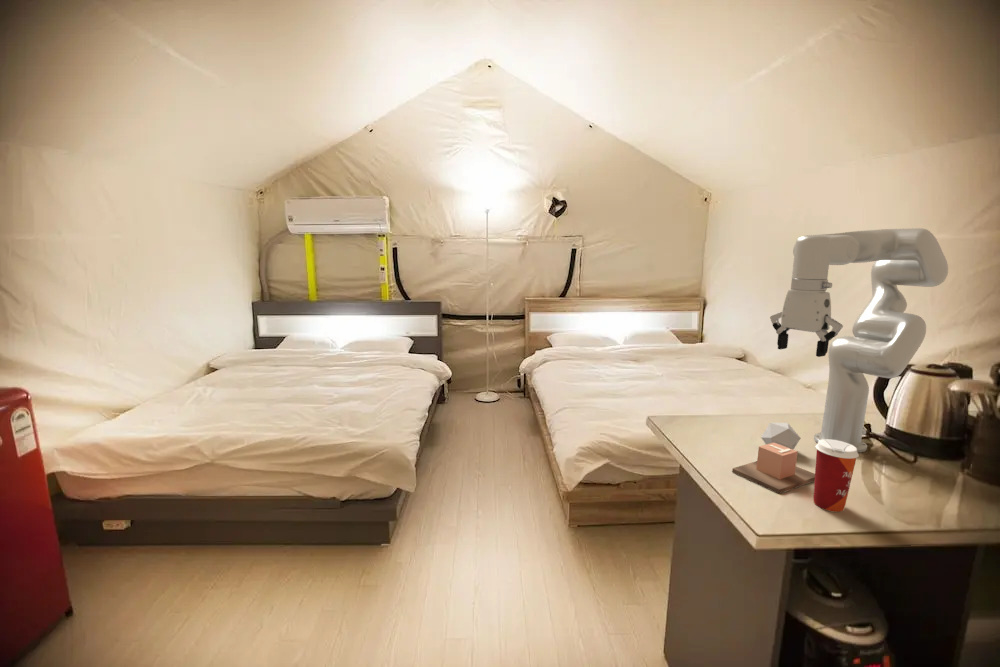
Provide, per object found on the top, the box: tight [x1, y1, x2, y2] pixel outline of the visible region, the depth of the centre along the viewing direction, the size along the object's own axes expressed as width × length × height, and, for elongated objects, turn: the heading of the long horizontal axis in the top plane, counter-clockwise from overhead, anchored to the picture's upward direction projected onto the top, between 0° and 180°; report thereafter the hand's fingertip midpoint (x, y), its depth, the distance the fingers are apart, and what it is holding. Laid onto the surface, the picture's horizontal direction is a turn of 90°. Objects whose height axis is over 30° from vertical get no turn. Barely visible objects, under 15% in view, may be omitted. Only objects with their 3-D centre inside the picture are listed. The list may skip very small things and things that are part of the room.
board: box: [731, 460, 815, 494], centre depth 118 cm, size 16×12×1 cm
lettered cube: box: [756, 443, 798, 479], centre depth 118 cm, size 6×6×6 cm
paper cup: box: [813, 439, 860, 513], centre depth 104 cm, size 8×8×14 cm
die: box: [760, 422, 801, 450], centre depth 133 cm, size 8×9×10 cm
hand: (800, 352), depth 123 cm, fingers open, 9 cm apart
